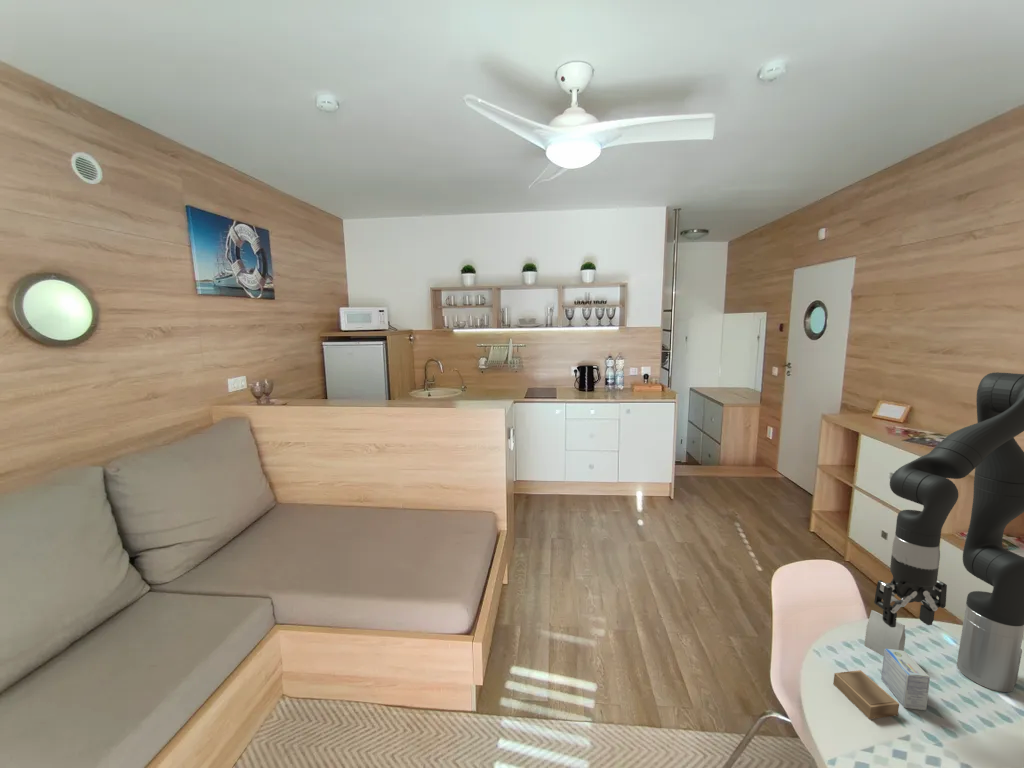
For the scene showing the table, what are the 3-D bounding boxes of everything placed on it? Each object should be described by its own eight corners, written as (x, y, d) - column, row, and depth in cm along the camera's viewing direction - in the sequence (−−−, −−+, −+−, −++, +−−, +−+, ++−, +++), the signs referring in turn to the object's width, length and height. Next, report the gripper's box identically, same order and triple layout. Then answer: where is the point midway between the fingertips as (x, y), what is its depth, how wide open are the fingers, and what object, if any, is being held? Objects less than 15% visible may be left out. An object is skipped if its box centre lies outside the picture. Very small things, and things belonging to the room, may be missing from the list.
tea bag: (896, 663, 105) (901, 628, 103) (864, 645, 110) (868, 612, 109) (902, 658, 106) (907, 623, 105) (870, 640, 112) (874, 607, 111)
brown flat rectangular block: (859, 681, 100) (860, 669, 99) (897, 715, 91) (899, 703, 90) (833, 684, 99) (834, 672, 98) (869, 719, 90) (870, 706, 89)
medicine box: (926, 711, 92) (931, 677, 90) (903, 708, 92) (908, 674, 91) (901, 682, 99) (905, 650, 98) (879, 679, 100) (883, 647, 99)
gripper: (928, 547, 95) (920, 610, 97) (868, 550, 94) (862, 614, 97) (964, 566, 87) (955, 634, 90) (900, 569, 87) (892, 637, 89)
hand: (907, 623), depth 93 cm, fingers open, 8 cm apart
